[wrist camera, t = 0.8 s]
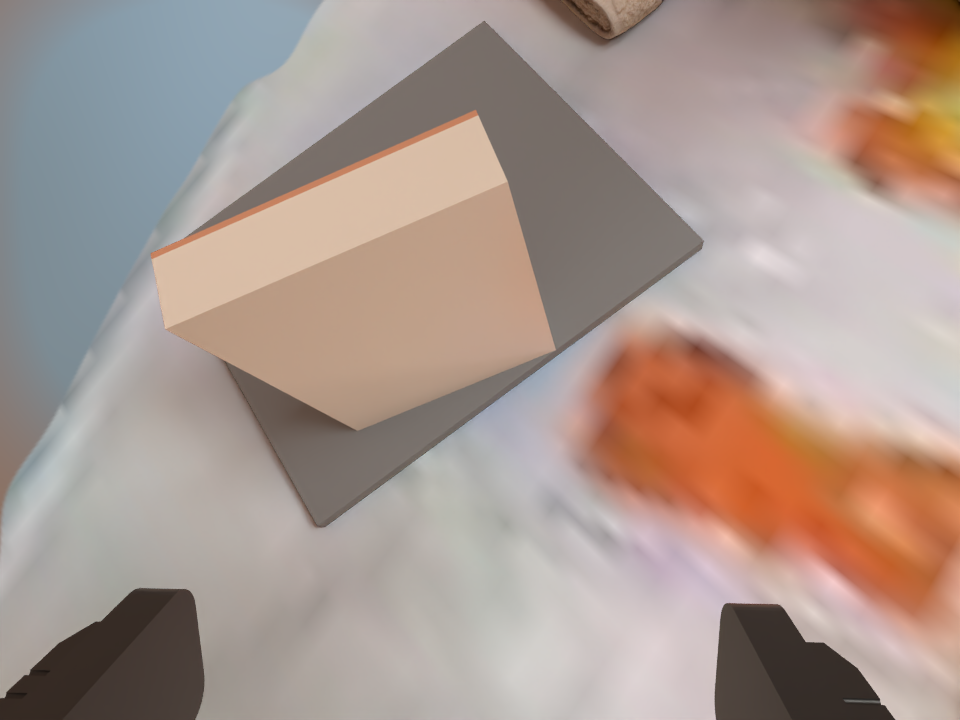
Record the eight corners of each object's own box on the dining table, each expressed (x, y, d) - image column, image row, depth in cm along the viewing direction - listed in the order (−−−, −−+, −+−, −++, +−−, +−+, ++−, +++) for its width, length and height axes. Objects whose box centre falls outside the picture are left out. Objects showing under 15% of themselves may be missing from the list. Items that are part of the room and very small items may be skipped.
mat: (487, 31, 37) (484, 20, 37) (701, 248, 31) (703, 240, 30) (173, 259, 37) (163, 252, 36) (324, 527, 31) (317, 526, 30)
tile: (536, 304, 31) (475, 109, 18) (555, 350, 30) (507, 181, 17) (343, 383, 32) (150, 253, 19) (357, 431, 31) (165, 329, 18)
